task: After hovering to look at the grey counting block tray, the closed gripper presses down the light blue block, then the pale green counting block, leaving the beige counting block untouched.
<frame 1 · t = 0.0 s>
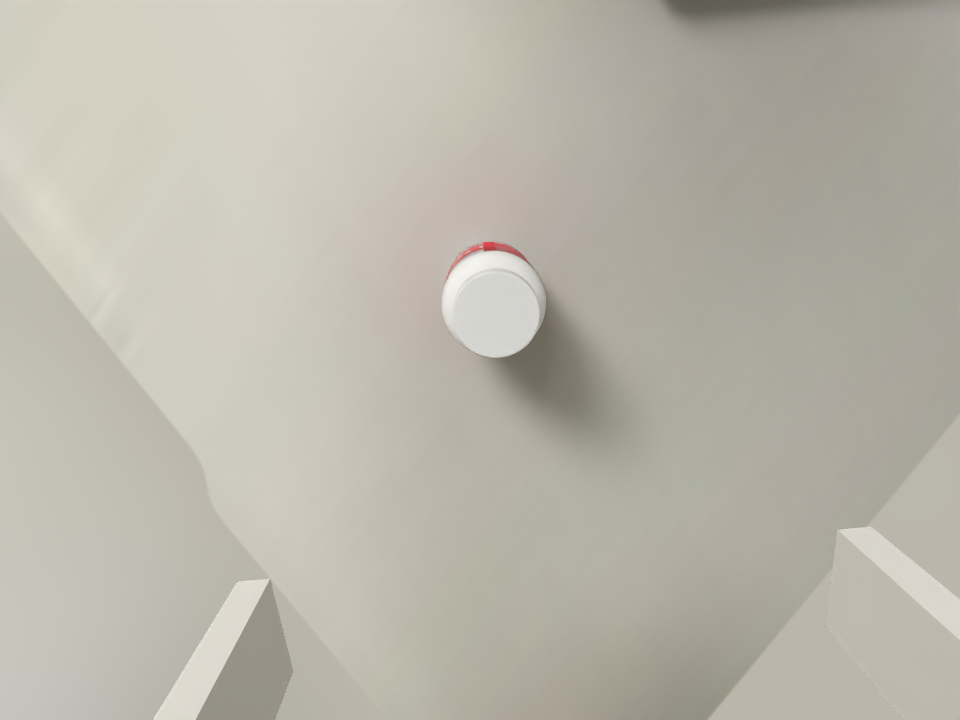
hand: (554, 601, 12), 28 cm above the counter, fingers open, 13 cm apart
pill bottle: (489, 283, 38), on the counter
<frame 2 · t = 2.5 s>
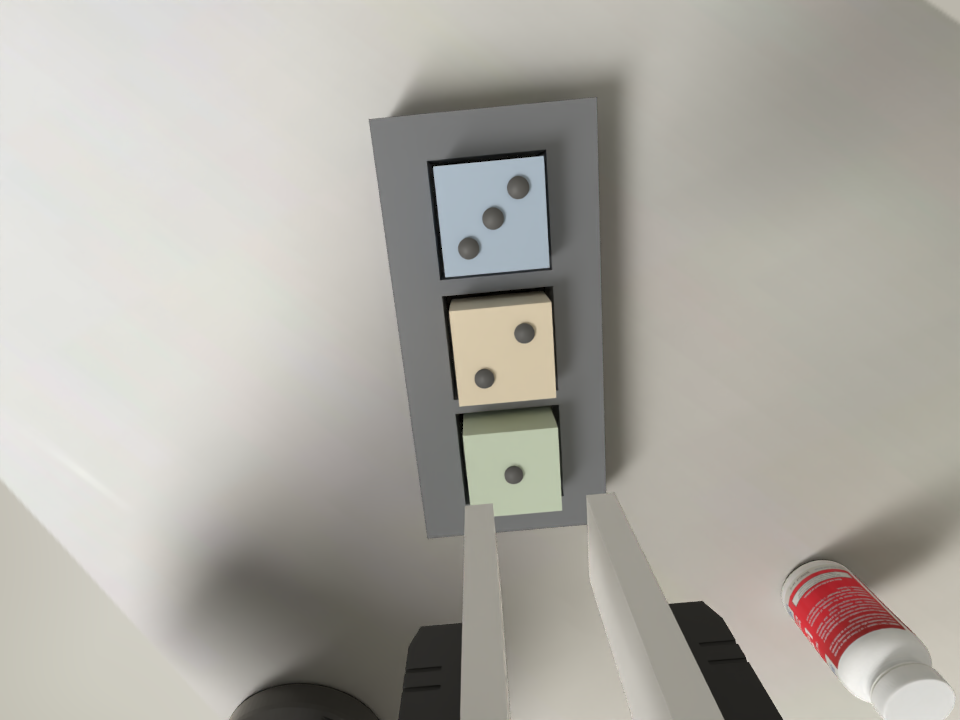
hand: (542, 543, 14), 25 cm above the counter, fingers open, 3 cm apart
pill bottle: (813, 585, 45), on the counter
beige counting block 2: (502, 347, 34), point 5 cm above the counter, slide at 0.0 cm
pale green counting block 1: (511, 460, 36), point 5 cm above the counter, slide at 0.0 cm
light blue block 3: (491, 217, 31), point 5 cm above the counter, slide at 0.0 cm
grey counting block tray: (498, 330, 38), on the counter
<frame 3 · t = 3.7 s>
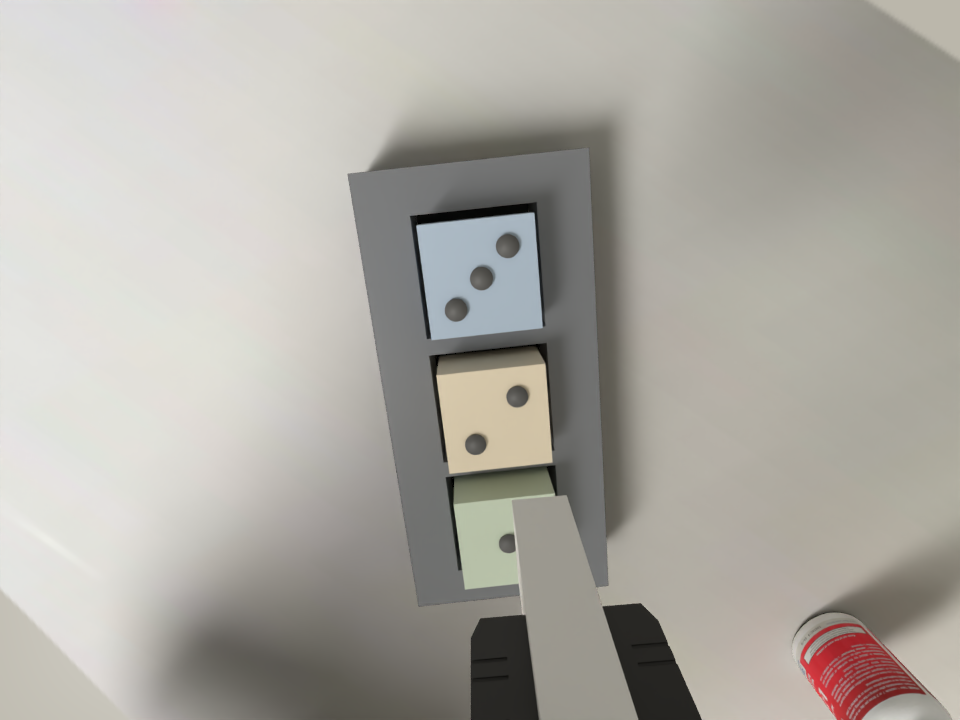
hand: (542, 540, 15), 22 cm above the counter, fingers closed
pill bottle: (824, 638, 43), on the counter
beige counting block 2: (494, 408, 32), point 5 cm above the counter, slide at 0.0 cm
pale green counting block 1: (506, 524, 34), point 5 cm above the counter, slide at 0.0 cm
light blue block 3: (480, 274, 29), point 5 cm above the counter, slide at 0.0 cm
grey counting block tray: (490, 383, 36), on the counter
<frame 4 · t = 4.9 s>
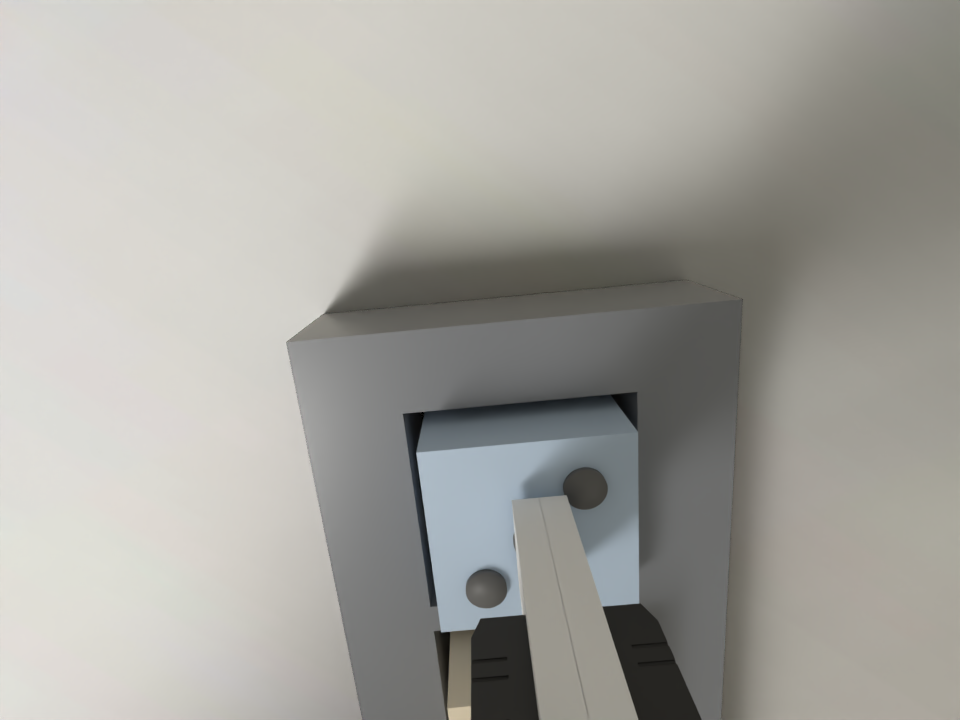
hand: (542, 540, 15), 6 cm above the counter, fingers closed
beige counting block 2: (544, 716, 18), point 5 cm above the counter, slide at 0.0 cm
light blue block 3: (526, 502, 17), point 4 cm above the counter, slide at 0.8 cm, touching gripper
grey counting block tray: (529, 617, 23), on the counter
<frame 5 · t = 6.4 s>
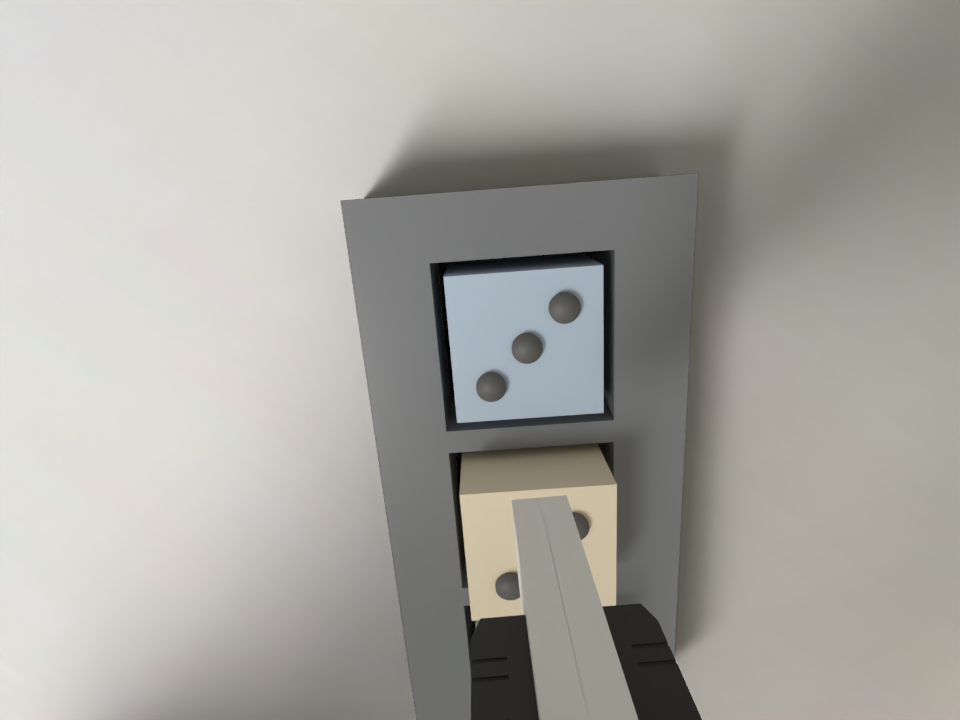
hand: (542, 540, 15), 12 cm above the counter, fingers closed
beige counting block 2: (535, 526, 23), point 5 cm above the counter, slide at 0.0 cm
pale green counting block 1: (542, 669, 25), point 5 cm above the counter, slide at 0.0 cm
light blue block 3: (522, 335, 22), point 2 cm above the counter, slide at 2.2 cm
grey counting block tray: (526, 472, 27), on the counter
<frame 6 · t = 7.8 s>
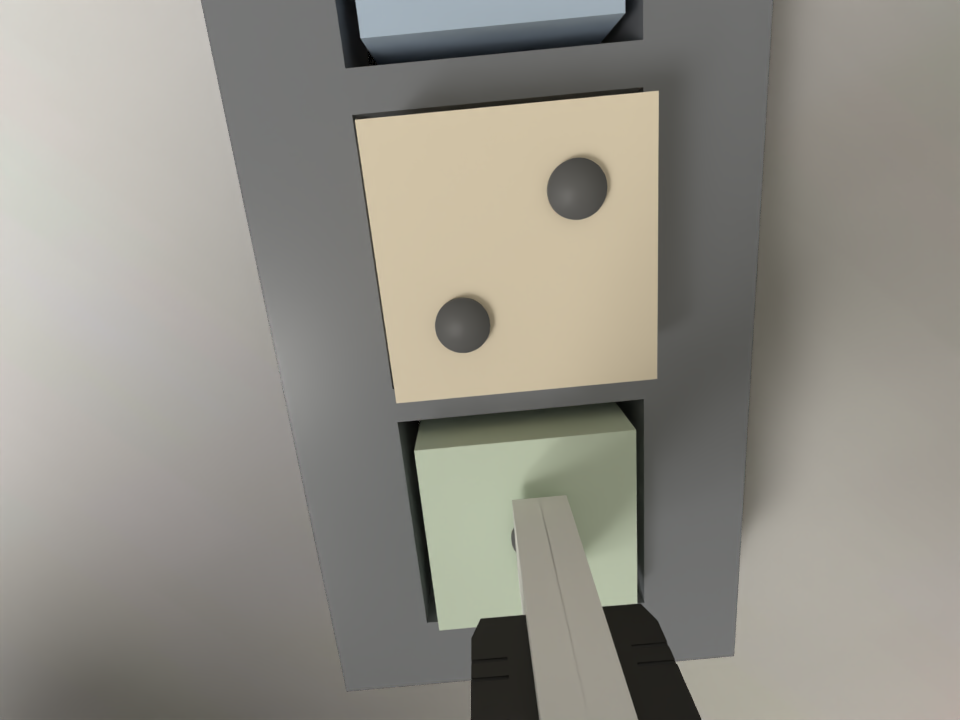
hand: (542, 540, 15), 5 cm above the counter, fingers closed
beige counting block 2: (510, 251, 13), point 5 cm above the counter, slide at 0.0 cm
pale green counting block 1: (525, 500, 17), point 3 cm above the counter, slide at 1.6 cm
grey counting block tray: (499, 239, 17), on the counter
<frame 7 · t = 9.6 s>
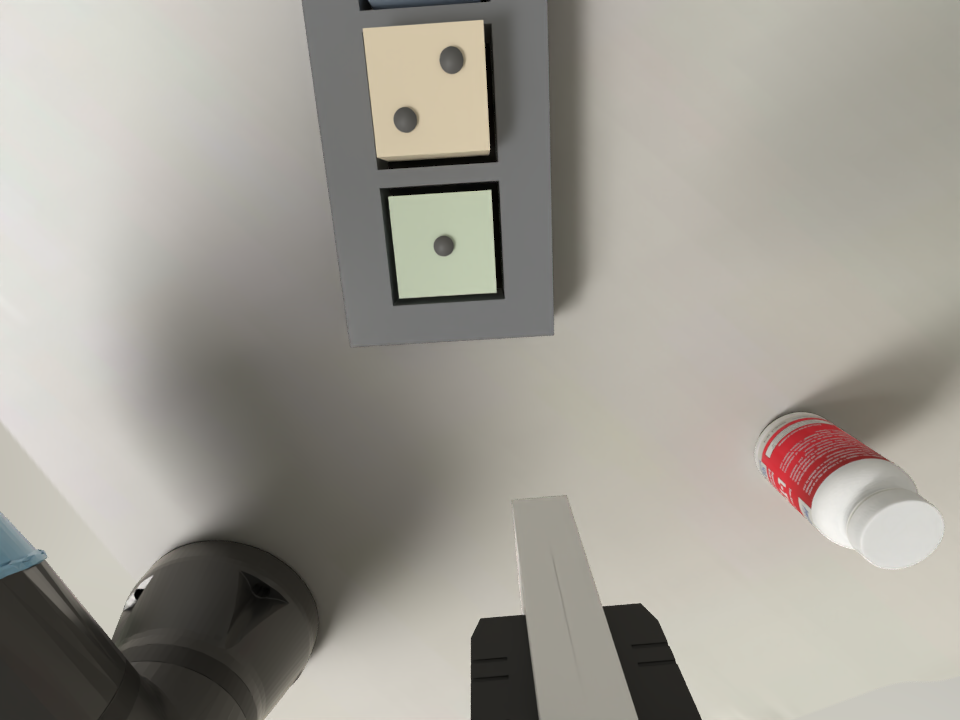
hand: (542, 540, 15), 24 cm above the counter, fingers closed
pill bottle: (790, 445, 40), on the counter
beige counting block 2: (431, 97, 29), point 5 cm above the counter, slide at 0.0 cm
pale green counting block 1: (445, 243, 33), point 2 cm above the counter, slide at 2.2 cm
grey counting block tray: (437, 110, 33), on the counter
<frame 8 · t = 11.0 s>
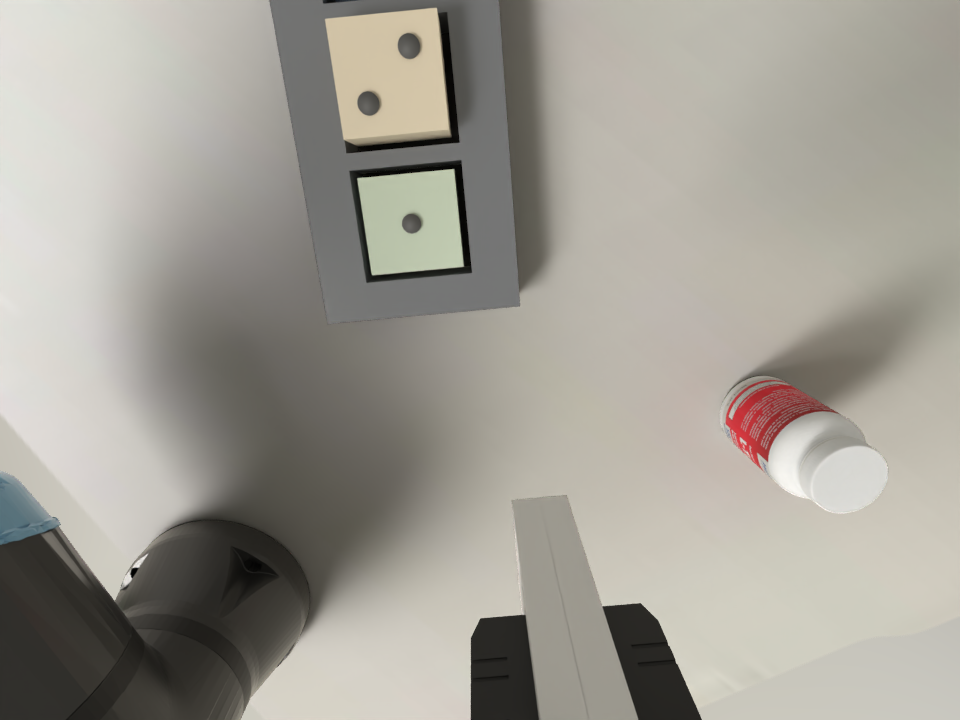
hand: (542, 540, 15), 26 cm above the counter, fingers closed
pill bottle: (754, 409, 42), on the counter
beige counting block 2: (393, 83, 31), point 5 cm above the counter, slide at 0.0 cm
pale green counting block 1: (414, 222, 35), point 2 cm above the counter, slide at 2.2 cm
grey counting block tray: (403, 97, 35), on the counter
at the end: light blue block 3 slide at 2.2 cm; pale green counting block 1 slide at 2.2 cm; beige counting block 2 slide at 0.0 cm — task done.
